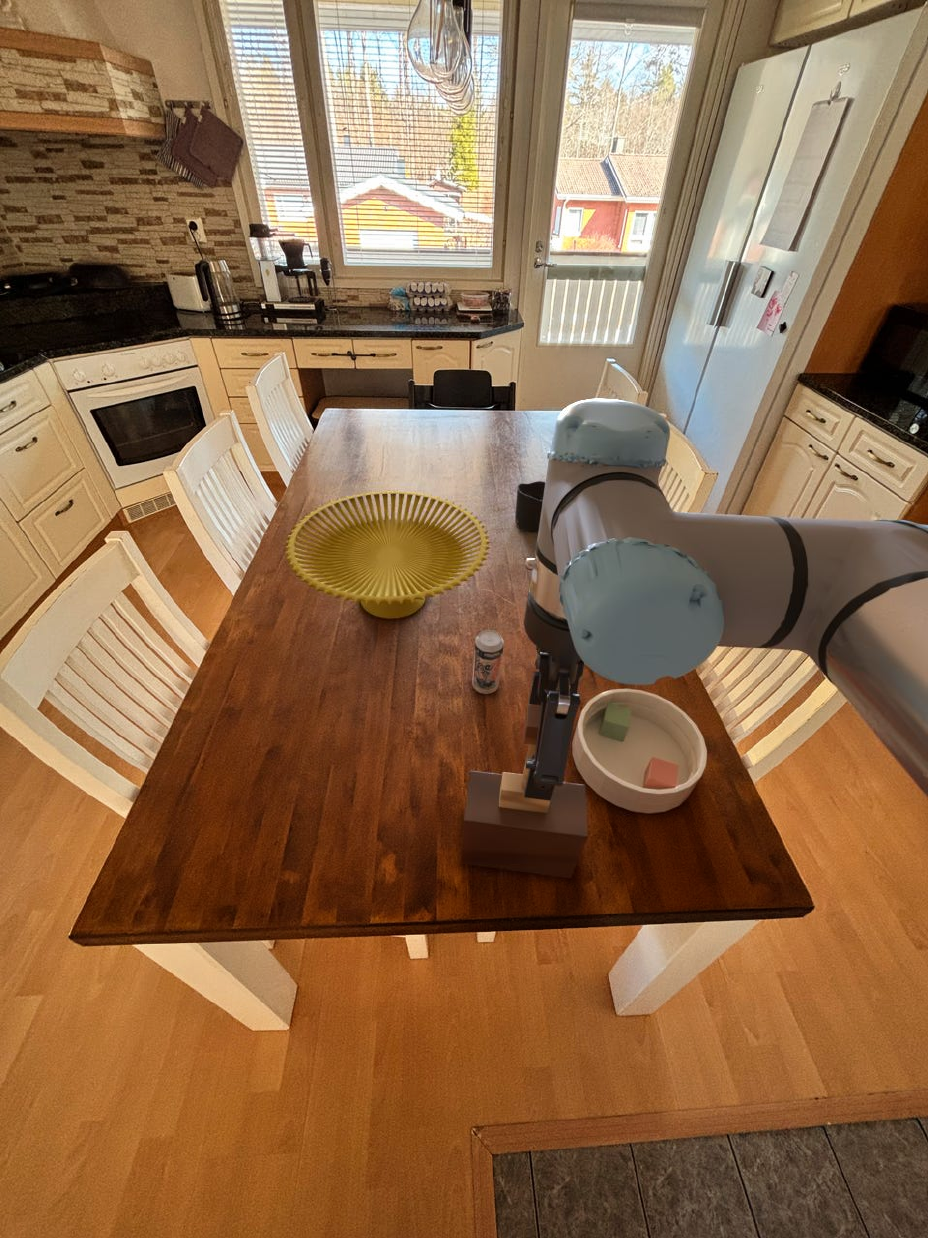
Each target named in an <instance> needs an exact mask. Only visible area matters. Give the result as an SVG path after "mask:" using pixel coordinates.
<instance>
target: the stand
mask: <svg viewBox="0 0 928 1238" xmlns="http://www.w3.org/2000/svg"><path fill="white" fill-rule="evenodd" d="M502 774H503V773H501V774H500V773H493V772H487V771H486V772H485V771H477V770H470V771H469V777H468V784H467V791H466V792H467V793H466V798H465V799H466V800H465V809H464V816H463V827H462V839H461V850H460V864H463V865H470V866H476V867H485V868H490V869H491V868H492V869H499V870H505V871H512V872H513V871H514V872H519V873H520V872H521V873H527V874H535V875H541V876H549V877H555V878H563V879H572V878H573V877H572V876H573V874H574V871H575V869H576V867H577V864H578V862H579V859H580V857H581V854H582V853H583V850H584V847H585V845H586V842H587V840H588V837H589V833H588V832H589V830H588V812H587V795H586V785H585V784H579V783H571V782H566V781H564V782H563V785H562V786H556V785H555V787H554V790H553V794H552V797H551V801H550V804H549V808H548V811H547V813H542V812H534V811H526V810H519V809H511V808H503V807H499V796H500V786H501V780H502Z"/></svg>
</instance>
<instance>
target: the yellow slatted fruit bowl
mask: <svg viewBox="0 0 928 1238" xmlns="http://www.w3.org/2000/svg"><path fill="white" fill-rule="evenodd" d="M389 494H390V514H389V500H388V499H389V498H388V497H389ZM397 494H398V505H397V506H398V508H397V516H396V501H397V500H396V499H397ZM372 495H373V498H374V502H375V506H376V511H377V516H376V513H375V509H374V504H373V499H372ZM380 495H381V497H382V503H383V511H384V512H382V507H381V499H380V498H381V497H380ZM405 495H406V502H405V507H404V513H402V512H403V505H404V499H405ZM413 496H414V500H413ZM364 497H365V499H366V503H367V504H368V505H367V506H368V508H369V510H370V515H371V517H370V515H369V512H368V510H367V507H366V504H365V500H364ZM421 497H422V501H421V504H420V506H419V509H418V511H417V508H418V505H419V502H420V499H421ZM440 497H441V496H433V494H432V493H431V494H425V493H424V492H422V493H418V492H416V491H413V492H408V490H405V491H399V489H397V490H396V491H391V490H390V489H388V490H387V491H382V490H379V491H376V492H374V491H372V490H371V491H370V492H361V493H360V494H355V493H353V495H351V496H348V495H345V497H344V498H338V497H337V499H336V500H334V501H331V500H329V503H327V504H323V503H322V504H321V507H314V509H315V510H314V511H308V515H302V517H303V519H302V520H297V522H298V524H296V525H295V524H294V525H292V527H293V528H295V529H292V530H289V532H290V533H291V534H288V535H286V538H287V539H289V540H286V541H284V543H285V544H286V546H283V547H282V548H283V549H285V550H287V551H285V552H283V554H284V555H286V556H288V557H286V558H284V560H285V561H288V562H289V563H288V564H287V566H288V567H292V568H291V569H290V572H293V573H296V574H295V577H298V578H301V580H300V582H302V583H308V584H307V587H312V588H313V587H315V592H321V591H323V592H324V593H323V595H325V596H326V595H333V596H332V598H333V599H337V598H343V601H349V600H353V603H355V604H356V603H359V602H360V604H361V606H362V608H363V609H364V610H365V611H366V613H367V612H368V613H369V614H370V615H373V616H374V617H377V618H381V619H388V620H389V619H400V618H405V617H408V616H410V615H413V614H415V613H416V612H418V611H419V610H420V609H421V608H422V607H423V605H424V603H425V601H426V598H427V597H430V598H435V597H436V595H438V594H439V595H445V594H446V593H445V591H454V587H461V586H462V585H463V584H462V582H469V578H470V577H476V574H475V573H474V572H478V571H479V572H480V571H481V569H480V568H479V567H482V566H485V565H486V564H485V563H483V561H487V560H488V557H486V556H487V555H490V553H491V552H489V551H487V550H489V549H491V546H488V545H489V544H491V541H490V540H487V539H489V538H490V537H491V536H490V535H487V533H489V531H488V530H485V529H484V528H485V527H486V525H481V523H482V522H483V521H482V520H477V519H478V516H473V512H469V511H467V510H468V508H462V505H461V504H455V501H448V498H445V499H444V498H443V499H442V498H440ZM355 498H357V500H358V503H359V505H360V507H361V509H362V512H363V514H362V513H361V510H360V509H359V506H358V504H357V501H356V499H355ZM429 499H430V501H429V503H428V505H427V508H426V510H425V512H424V514H423V511H424V509H425V507H426V504H427V502H428V500H429ZM347 500H348V501H349V502H350V503H351V505H352V507H353V510H354V511H355V514H356V515H357V517H356V515H355V514H354V512H353V510H352V509H351V507H350V504H349V503H348V501H347ZM412 500H413V505H412V508H411V511H410V507H411V503H412ZM436 501H437V502H436ZM340 503H342V505H343V507H344V508H345V510H346V511H347V513H348V514H349V516H350V518H351V519H350V518H349V516H348V515H347V513H346V512H345V510H344V509H343V508H342V506H341V504H340ZM435 503H436V504H435ZM443 504H444V505H443ZM434 505H435V507H434V508H433V506H434ZM442 505H443V507H442V508H441V506H442ZM333 506H334V507H335V508H336V509H337V510H338V512H339V513H340V514H341V516H342V517H343V518H344V519H342V517H341V516H340V515H339V513H337V511H336V509H335V508H334V507H333ZM450 506H451V507H450ZM449 507H450V508H449ZM440 508H441V510H440ZM448 508H449V510H448V511H447V509H448ZM326 509H327V510H328V511H329V512H330V513H331V514H332V515H333V516H334V517H335V518H336V520H335V519H334V518H333V517H332V516H331V515H330V513H329V512H328V511H327V510H326ZM431 509H433V511H432V512H431ZM439 510H440V512H439V513H438V511H439ZM456 510H457V511H456ZM409 511H410V515H409ZM416 511H417V514H416ZM446 511H447V513H446ZM319 512H320V513H319ZM430 512H431V514H430ZM454 512H455V513H454ZM383 513H384V514H383ZM437 513H438V515H437V516H436V514H437ZM444 513H446V514H445V515H444ZM453 513H454V514H453ZM321 514H322V515H324V516H325V517H326V518H327V519H326V518H324V517H323V516H322V515H321ZM422 514H423V516H422ZM429 514H430V516H429V517H428V515H429ZM452 514H453V515H452ZM460 514H462V515H461V516H460V517H459V518H458V519H457V517H458V516H459V515H460ZM363 515H364V516H363ZM383 515H384V516H383ZM389 515H390V516H389ZM402 515H403V517H402ZM415 515H416V516H415ZM443 515H444V517H442V516H443ZM451 515H452V516H451ZM314 516H315V517H316V518H317V519H316V518H315V517H314ZM408 516H409V517H408ZM421 516H422V518H421ZM435 516H436V517H435ZM450 516H451V518H450V519H449V520H448V521H447V519H448V518H449V517H450ZM427 517H428V519H427ZM434 517H435V519H434ZM466 517H468V518H467V519H465V518H466ZM364 518H365V519H364ZM377 518H378V519H377ZM414 518H415V519H414ZM441 518H442V519H441ZM433 519H434V520H433ZM440 519H441V520H440ZM464 519H465V520H464ZM318 520H320V521H321V522H322V523H323V524H324V525H326V526H327V527H328V528H327V527H325V526H324V525H323V524H321V522H319V521H318ZM328 520H329V521H330V522H331V523H330V522H328ZM439 520H440V521H439ZM454 520H455V521H454ZM463 520H464V521H463ZM337 521H338V522H339V523H338V522H337ZM345 521H346V522H345ZM446 521H447V522H446ZM462 521H463V522H462ZM310 522H312V523H313V524H314V525H316V526H317V527H318V528H317V527H316V526H314V525H313V524H312V523H310ZM445 522H446V523H445ZM452 522H453V524H452ZM461 522H462V523H461ZM470 522H471V523H470ZM444 523H445V524H444ZM460 523H461V524H460ZM468 523H469V524H468ZM443 524H444V525H443ZM467 524H468V525H467ZM304 525H305V526H304ZM333 525H334V526H333ZM449 525H450V526H449ZM457 525H459V526H457ZM466 525H467V526H466ZM306 526H307V527H306ZM456 526H457V527H456ZM464 526H466V527H464ZM474 526H475V527H474ZM455 527H456V528H455ZM463 527H464V528H463ZM472 527H474V528H472ZM309 528H310V529H312V530H313V531H312V530H310V529H309ZM319 528H320V529H321V530H320V529H319ZM462 528H463V529H462ZM471 528H472V529H471ZM469 529H471V530H469ZM301 530H302V531H301ZM322 530H323V531H322ZM468 530H469V531H468ZM303 531H304V532H305V533H304V532H303ZM314 531H315V532H316V533H315V532H314ZM467 531H468V532H467ZM325 532H326V533H325ZM465 532H467V533H465ZM306 533H307V534H306ZM317 533H318V534H317ZM308 534H309V535H310V536H309V535H308ZM471 534H472V535H471ZM298 535H299V536H298ZM469 535H470V536H469ZM300 536H301V537H300ZM478 536H479V537H478ZM302 537H303V538H305V539H303V538H302ZM476 537H477V538H476ZM315 538H316V539H315ZM474 538H475V539H474ZM306 539H307V540H306ZM308 540H309V541H308ZM470 540H471V541H470ZM298 541H299V542H301V543H299V542H298ZM474 543H475V544H474ZM304 544H305V545H304ZM470 545H471V546H470ZM296 546H297V547H296ZM299 547H301V548H299ZM477 547H478V548H477ZM302 548H303V549H302ZM474 548H476V549H474ZM304 549H305V550H304ZM298 557H300V558H298ZM303 558H304V559H303ZM472 558H473V559H472Z"/></svg>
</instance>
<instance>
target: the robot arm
mask: <svg viewBox="0 0 928 1238" xmlns="http://www.w3.org/2000/svg"><path fill="white" fill-rule="evenodd" d="M670 439H671V428H670V425H669V423H668V421H667V420H666V418H665V417H664V416H663V415H662V414H660V413H659V412H657V411H656V410H654V409H653V408H650V407H648V406H645V405H642V404H640V403H636V402H631V401H627V400H621V399H613V398H612V399H611V398H591V399H585V400H579V401H575V402H574V403H572V404H569V405H568V406H567V407H565V408H564V409H563V410H562V411H561V412H560V413H559V415H558V417H557V418H556V421H555V427H554V430H553V436H552V441H551V445H550V449H549V450H548V452H547V453H546V459H548V462H547V467H546V476H545V481H544V482H545V490H544V497H543V504H542V512H541V519H540V525H539V531H537V532H538V533H537V538H536V544H535V552H534V557H533V558H532V557H530V558H527V559H526V560H525V564H524V567H525V569H526V571H531V577H530V584H529V591H528V594H527V599H526V606H525V611H524V617H523V618H524V619H523V627H524V631H525V634H526V636H527V637H528V639H529V640H530V641H531V642H532V644H534V646H535V651H536V650H537V653H538V657H537V656H536V659H535V662H534V666H535V669H536V670H534V672H533V676H532V683H531V688H530V692H529V699H528V703H527V705H528V704H531V705H540V706H541V711H540V719H539V727H538V735H537V742H536V750H535V755H532V759H531V760H530V759H526V758H525V762H526V769H529V772H528V777H527V782H526V786H525V791H524V797H525V798H533V799H541V800H549V801H551V797H552V794H553V790H554V787H555V785H556V786H562V785H563V782H565V772H566V767H567V761H568V757H569V752H570V746H571V743H572V737H573V732H574V731H573V730H574V725H575V720H576V718H577V714H578V710H579V706H580V705H581V701H582V699H581V696H580V694H579V693H578V689H579V685H580V684H579V683H580V678H581V677H582V676H583V674H584V667H585V666H587V667H588V668H589V669H590V670H591V671H592V672H594V673H595V674H597V675H598V676H600V677H602V678H603V679H606V680H609V681H611V682H614V683H618V684H623V685H630V686H649V685H650V686H651V685H654V684H655V683H656V681H657V680H659V679H664V678H668V677H670V678H672V679H679V678H681V677H684V676H685V675H687V674H689V673H691V672H693V671H694V670H695V669H697V668H698V667H700V666H701V665H703V664H704V663H705V662H706V661H707V660H708V659H709V658H710V657H711V656H712V654H713V653H715V651H716V649H717V648H718V647H721V648H723V647H724V648H740V649H741V648H745V649H766V650H767V649H768V650H783V651H784V650H785V651H798V652H801V653H804V654H806V655H807V656H808V657H809V658H810V659H811V661H812V662H813V663H814V664H815V665H816V667H817V668H818V669H819V670H820V672H821V673H822V674H823V675H824V676H825V678H826V679H827V680H828V681H829V682H830V683H831V684H832V685H833V686H834V687H835V688H836V689H837V690H838V691H839V693H840V694H841V695H842V697H843V698H844V699H845V700H846V701H847V703H848V704H849V705H850V706H851V708H852V709H853V710H854V711H855V712H856V713H857V715H858V716H859V717H860V718H861V720H862V721H863V722H864V724H865V725H866V726H867V727H868V728H869V729H870V731H871V732H872V733H873V734H874V736H875V737H876V738H877V739H878V741H879V742H880V743H881V744H882V746H884V748H885V749H886V750H887V751H888V753H889V754H890V755H891V756H892V758H893V759H894V760H895V761H896V762H897V764H898V765H899V767H901V768H902V770H903V771H904V772H905V773H906V775H907V776H908V777H909V778H910V779H911V781H912V782H913V783H914V784H915V786H916V787H917V788H918V789H919V790H920V792H921V793H922V795H923V796H924V797H925V798H926V799H927V800H928V524H921V523H916V522H913V521H909V520H905V519H887V518H885V519H876V520H864V519H835V518H811V517H810V518H809V517H785V516H784V517H782V516H769V515H768V516H767V515H765V516H764V515H763V516H762V515H761V516H760V515H745V514H744V515H743V514H723V513H709V512H708V513H707V512H706V513H705V512H686V511H675V510H673V508H672V507H671V504H670V503H669V501H668V499H667V497H666V495H665V494H664V492H663V490H662V488H661V486H660V484H659V479H660V474H661V473H662V469H663V467H665V466H666V464H667V461H668V460H667V459H666V458H667V454H668V447H669V442H670Z"/></svg>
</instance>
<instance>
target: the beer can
mask: <svg viewBox="0 0 928 1238" xmlns="http://www.w3.org/2000/svg"><path fill="white" fill-rule="evenodd" d="M504 645H505V643H504V639H503V637H502V635H501V634H500V633H499V632H497V631H496V630H491V629H486V630H482V631H481V632H480V633H479V634H478V635H477V636H476V638H475V641H474V653H473V654H474V655H473V665H472V666H473V667H472V680H471V681H472V682H471V685H472V687H473V689H474V690H475V691H476V692H478V693H480V694H483V695H488V694H493V693H494V692H496V691H497V689H499V684H500V679H501V678H500V677H501V670H502V669H501V667H502V661H503V653H504Z"/></svg>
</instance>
